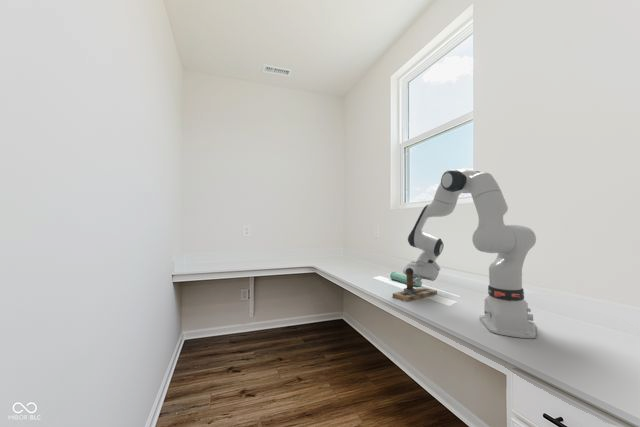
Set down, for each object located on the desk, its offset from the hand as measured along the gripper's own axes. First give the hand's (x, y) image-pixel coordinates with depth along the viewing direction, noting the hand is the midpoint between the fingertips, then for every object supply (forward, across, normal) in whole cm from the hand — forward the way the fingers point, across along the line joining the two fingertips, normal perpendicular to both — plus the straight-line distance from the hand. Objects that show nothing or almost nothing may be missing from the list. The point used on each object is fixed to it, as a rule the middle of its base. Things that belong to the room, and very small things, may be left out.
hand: (413, 283), depth 152 cm
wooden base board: (+4, 0, +6) cm, 7 cm away
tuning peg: (+5, +2, +1) cm, 6 cm away
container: (-9, -24, +20) cm, 32 cm away
